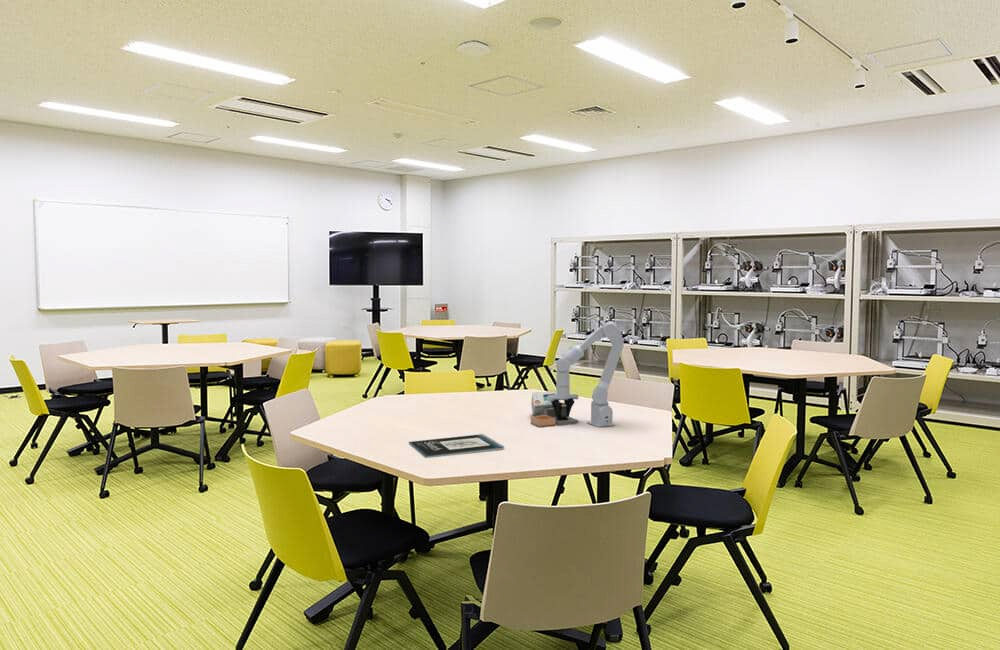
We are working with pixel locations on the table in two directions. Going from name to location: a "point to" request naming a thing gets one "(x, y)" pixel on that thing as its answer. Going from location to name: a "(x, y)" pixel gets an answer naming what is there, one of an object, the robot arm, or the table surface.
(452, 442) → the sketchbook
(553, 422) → the tray
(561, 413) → the battery cell
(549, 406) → the light bulb box
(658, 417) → the table surface
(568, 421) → the grey rectangular holed block
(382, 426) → the table surface
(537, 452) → the table surface
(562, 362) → the robot arm
